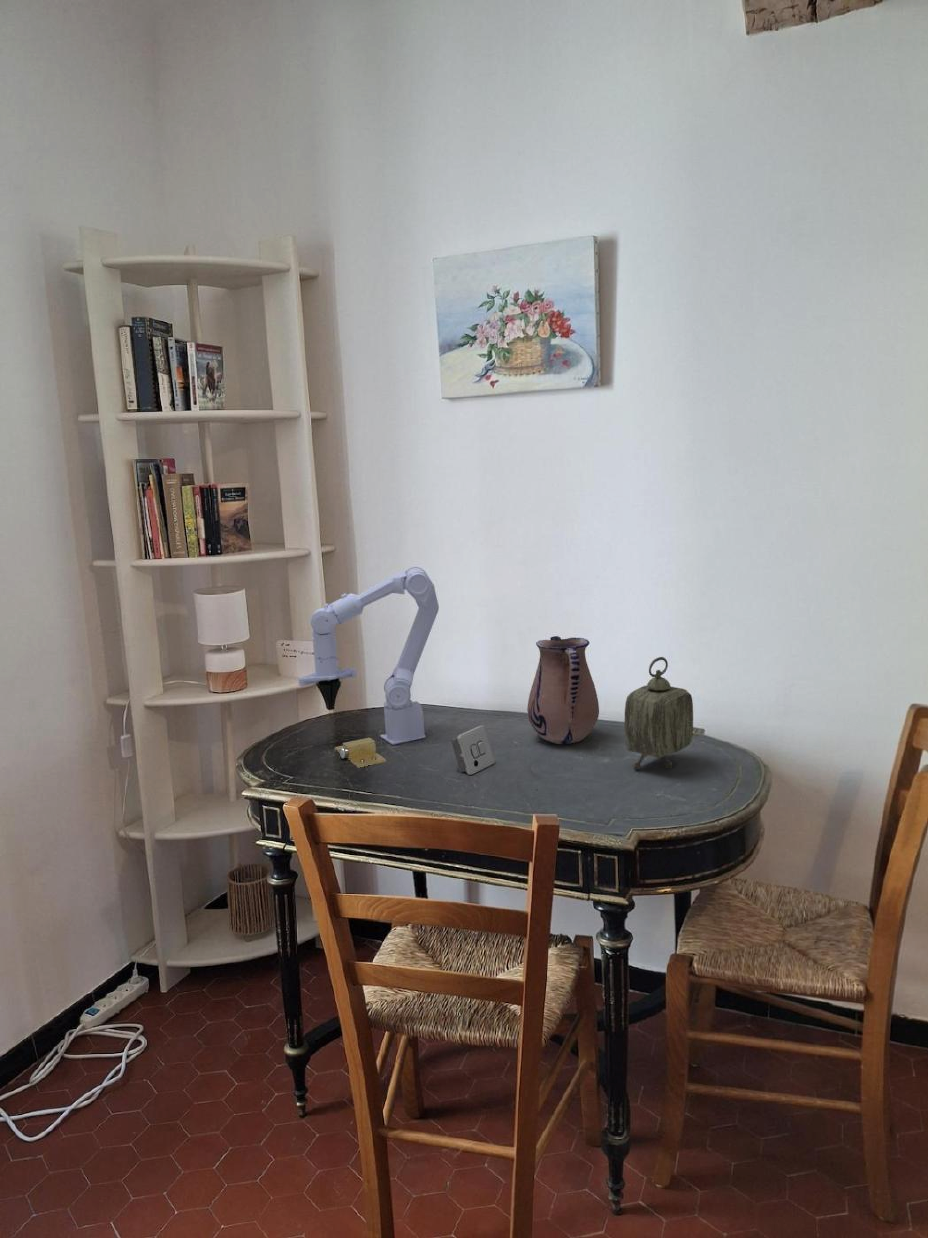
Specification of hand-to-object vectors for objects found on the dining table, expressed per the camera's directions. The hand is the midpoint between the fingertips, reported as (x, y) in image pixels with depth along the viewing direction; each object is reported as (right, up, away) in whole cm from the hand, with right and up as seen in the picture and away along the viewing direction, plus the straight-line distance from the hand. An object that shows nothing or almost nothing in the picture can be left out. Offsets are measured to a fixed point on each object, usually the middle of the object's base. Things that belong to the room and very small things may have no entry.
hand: (330, 709), depth 231 cm
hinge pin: (+8, -10, -8) cm, 15 cm away
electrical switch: (+36, -12, -20) cm, 43 cm away
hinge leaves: (+8, -11, -8) cm, 15 cm away
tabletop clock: (+78, -11, -25) cm, 83 cm away
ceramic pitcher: (+59, -8, -5) cm, 60 cm away
